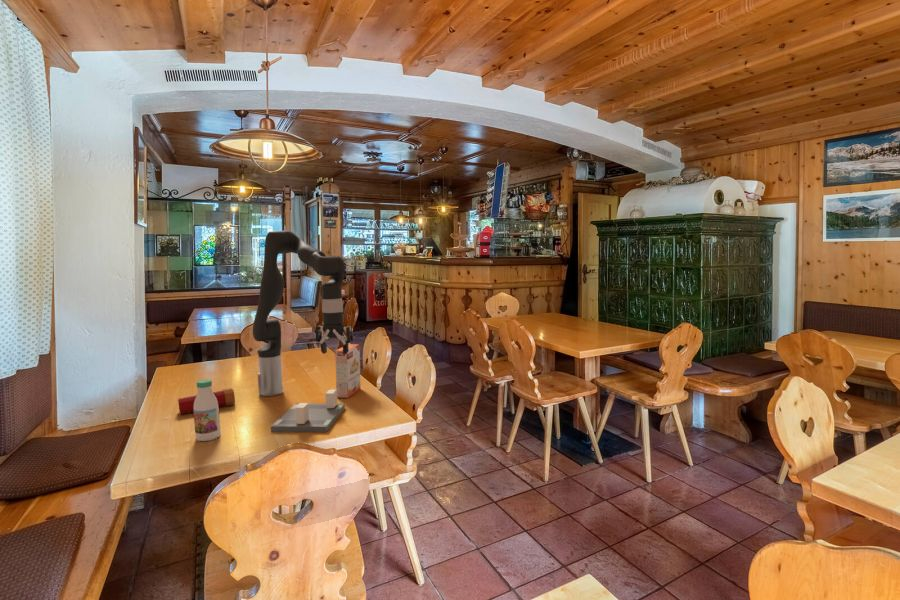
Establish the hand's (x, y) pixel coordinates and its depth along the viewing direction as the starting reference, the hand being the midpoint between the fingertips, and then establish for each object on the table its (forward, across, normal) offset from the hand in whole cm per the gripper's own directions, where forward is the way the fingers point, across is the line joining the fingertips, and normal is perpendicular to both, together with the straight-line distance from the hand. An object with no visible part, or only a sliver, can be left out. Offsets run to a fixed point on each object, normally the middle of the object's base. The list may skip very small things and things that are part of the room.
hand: (334, 353), depth 177 cm
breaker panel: (+25, -10, -3) cm, 27 cm away
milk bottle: (+25, -36, -26) cm, 51 cm away
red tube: (+25, -57, -2) cm, 63 cm away
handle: (+23, -6, +6) cm, 24 cm away
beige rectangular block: (+23, -8, -11) cm, 27 cm away
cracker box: (+25, -10, +29) cm, 39 cm away
